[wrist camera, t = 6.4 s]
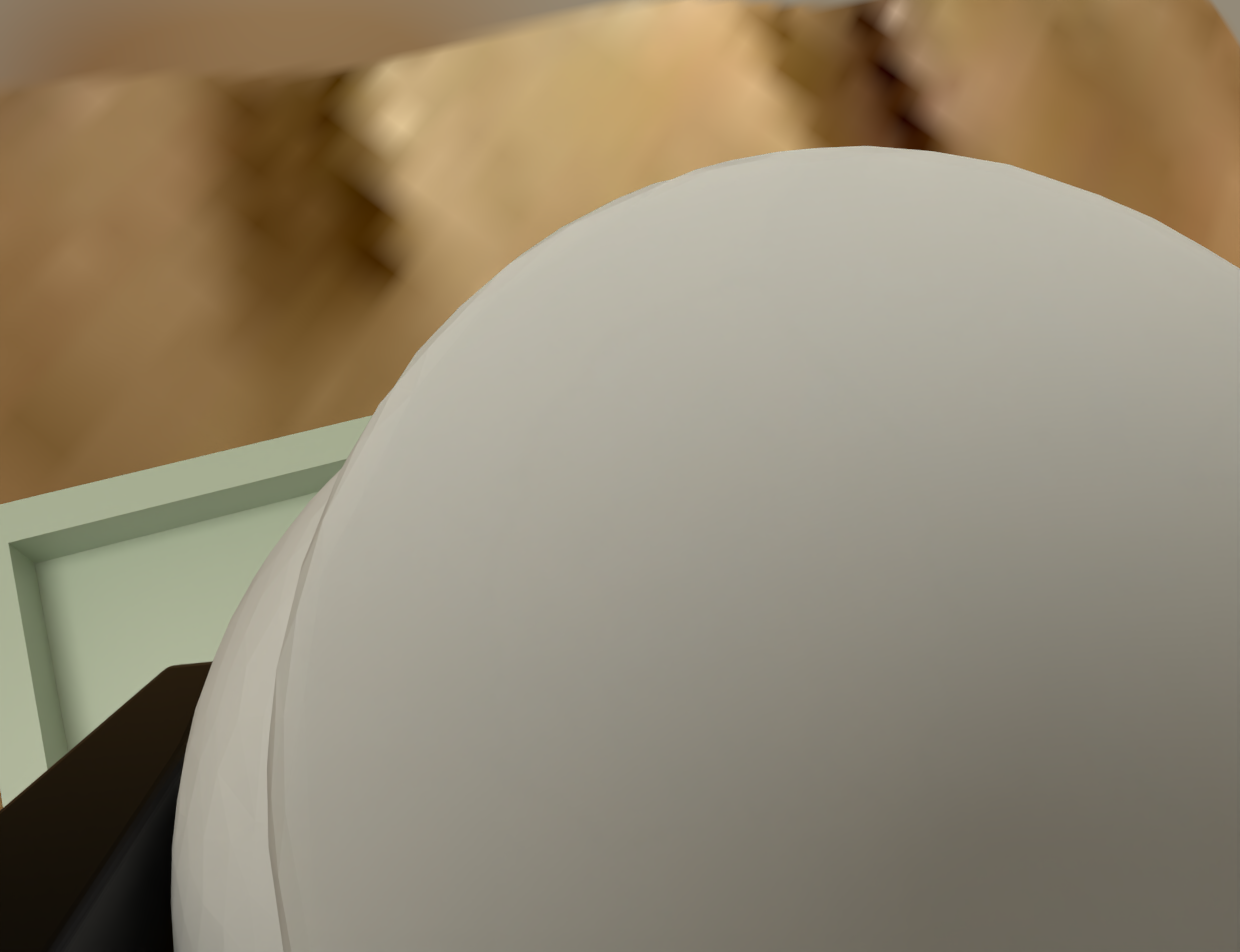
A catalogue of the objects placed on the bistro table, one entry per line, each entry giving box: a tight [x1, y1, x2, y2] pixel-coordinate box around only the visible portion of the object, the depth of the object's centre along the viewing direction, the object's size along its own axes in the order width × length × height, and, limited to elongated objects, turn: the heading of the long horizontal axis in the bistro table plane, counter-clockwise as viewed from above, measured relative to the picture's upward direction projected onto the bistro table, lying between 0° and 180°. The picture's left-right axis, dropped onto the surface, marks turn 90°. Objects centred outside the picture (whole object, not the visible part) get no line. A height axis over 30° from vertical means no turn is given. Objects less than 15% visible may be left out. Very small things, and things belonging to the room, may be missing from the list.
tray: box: [0, 415, 373, 808], centre depth 16 cm, size 14×14×2 cm
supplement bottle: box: [171, 146, 1240, 952], centre depth 10 cm, size 7×7×13 cm
